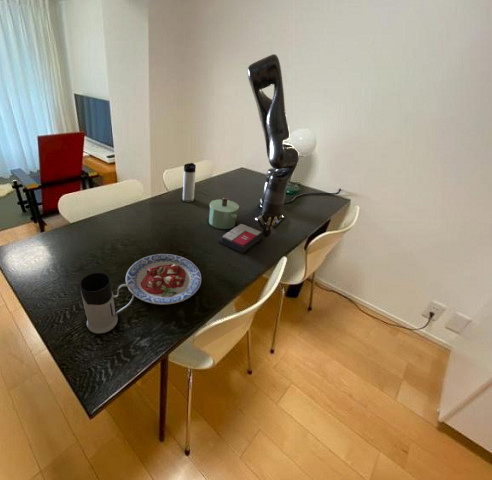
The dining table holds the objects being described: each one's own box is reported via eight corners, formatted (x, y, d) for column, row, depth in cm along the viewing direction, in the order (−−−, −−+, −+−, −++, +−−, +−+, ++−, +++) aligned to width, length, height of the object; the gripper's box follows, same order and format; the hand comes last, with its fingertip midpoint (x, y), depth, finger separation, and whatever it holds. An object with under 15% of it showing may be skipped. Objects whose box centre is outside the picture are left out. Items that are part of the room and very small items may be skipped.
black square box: (221, 235, 111) (240, 221, 119) (220, 243, 113) (239, 229, 122) (243, 246, 104) (262, 230, 113) (242, 254, 107) (261, 239, 115)
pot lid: (227, 199, 131) (229, 190, 129) (244, 211, 121) (246, 201, 118) (204, 204, 126) (204, 194, 124) (219, 216, 116) (220, 206, 113)
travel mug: (195, 198, 151) (197, 163, 140) (191, 202, 146) (193, 167, 135) (185, 196, 153) (187, 162, 142) (180, 200, 148) (182, 165, 137)
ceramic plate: (133, 257, 103) (132, 250, 101) (199, 259, 102) (199, 253, 101) (118, 307, 81) (117, 300, 79) (202, 310, 80) (203, 303, 79)
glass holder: (90, 309, 80) (82, 271, 72) (137, 308, 81) (134, 270, 73) (83, 333, 73) (73, 294, 64) (135, 332, 73) (131, 292, 65)
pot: (222, 212, 137) (224, 197, 132) (243, 228, 123) (246, 212, 119) (201, 216, 132) (202, 201, 128) (220, 233, 119) (223, 217, 114)
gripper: (262, 204, 101) (254, 242, 111) (294, 202, 103) (284, 239, 113) (254, 196, 108) (247, 233, 117) (284, 195, 109) (275, 231, 119)
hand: (265, 236), depth 115 cm, fingers closed
